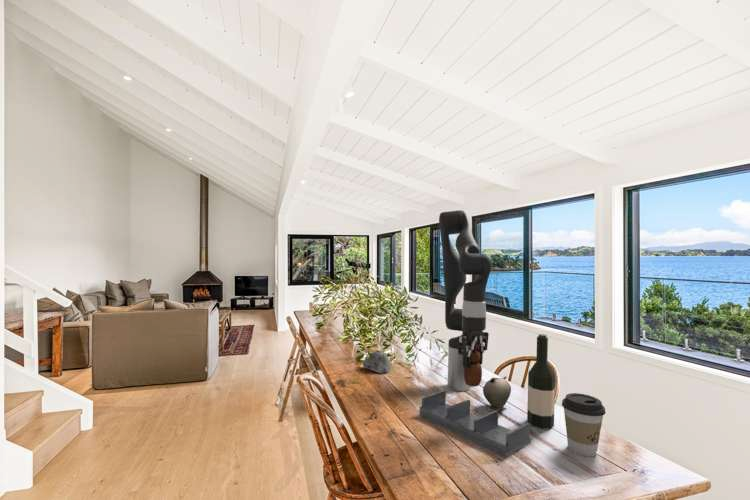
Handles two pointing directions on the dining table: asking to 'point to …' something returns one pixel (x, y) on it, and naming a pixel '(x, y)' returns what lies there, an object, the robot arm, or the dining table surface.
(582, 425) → the coffee cup
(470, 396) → the dining table surface
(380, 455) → the dining table surface
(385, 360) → the mineral rock
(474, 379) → the wooden figurine
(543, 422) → the wine bottle
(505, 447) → the grey shelf
